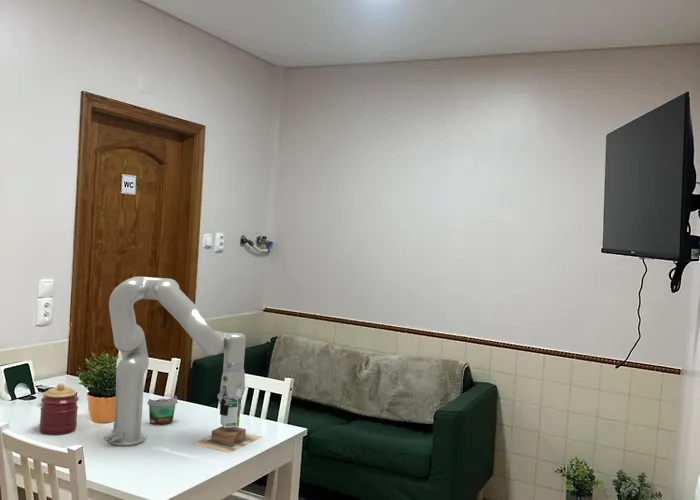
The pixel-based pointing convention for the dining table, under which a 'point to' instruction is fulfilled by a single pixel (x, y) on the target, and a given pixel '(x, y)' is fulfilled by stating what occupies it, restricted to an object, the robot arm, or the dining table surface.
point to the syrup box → (232, 411)
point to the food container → (162, 411)
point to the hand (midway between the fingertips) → (230, 412)
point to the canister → (59, 411)
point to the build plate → (224, 447)
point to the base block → (228, 435)
